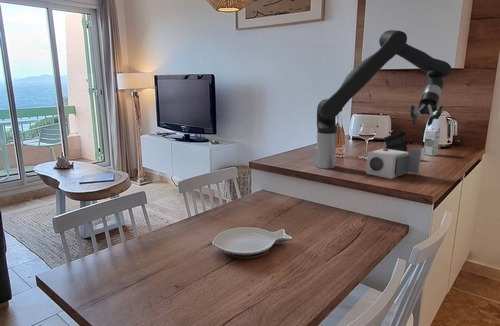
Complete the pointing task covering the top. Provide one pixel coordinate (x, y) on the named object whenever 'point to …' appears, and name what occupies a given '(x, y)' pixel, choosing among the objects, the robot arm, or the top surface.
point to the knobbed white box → (383, 162)
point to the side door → (408, 162)
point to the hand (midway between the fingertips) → (421, 124)
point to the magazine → (396, 142)
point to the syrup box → (431, 142)
